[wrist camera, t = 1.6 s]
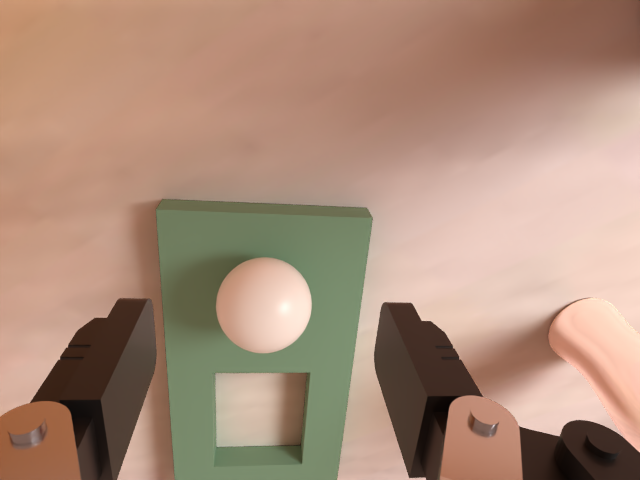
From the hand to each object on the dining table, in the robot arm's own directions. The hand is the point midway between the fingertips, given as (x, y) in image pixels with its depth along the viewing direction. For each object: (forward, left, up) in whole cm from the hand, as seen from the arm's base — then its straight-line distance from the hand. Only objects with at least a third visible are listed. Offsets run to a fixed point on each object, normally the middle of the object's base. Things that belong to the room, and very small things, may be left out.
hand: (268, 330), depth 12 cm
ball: (+8, 0, -15) cm, 17 cm away
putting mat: (+16, 0, -20) cm, 26 cm away
